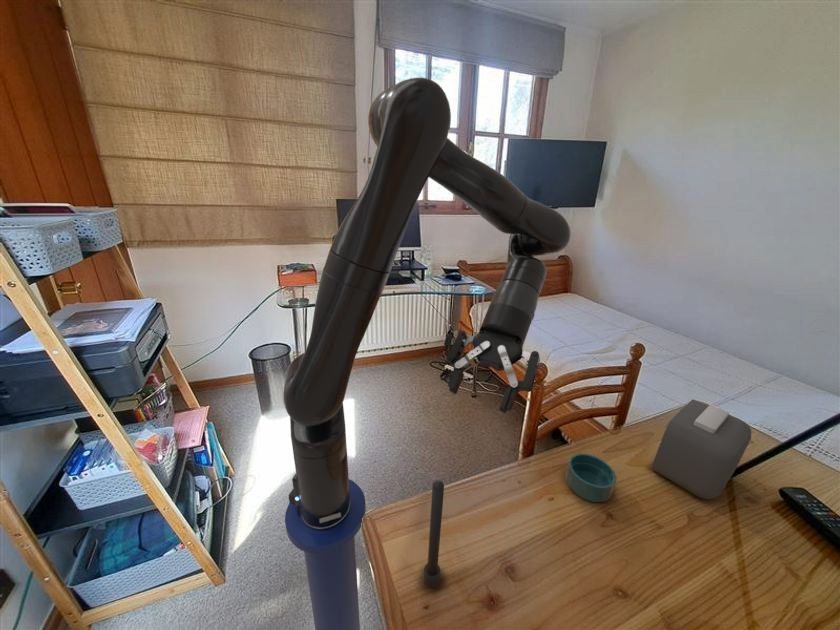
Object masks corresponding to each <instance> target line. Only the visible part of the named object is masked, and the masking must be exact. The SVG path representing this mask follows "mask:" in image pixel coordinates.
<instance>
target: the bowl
mask: <svg viewBox="0 0 840 630" xmlns="http://www.w3.org/2000/svg"><path fill="white" fill-rule="evenodd" d="M564 476H565V481H566V483H567V485H568V487H569V488H570V490H571V491H572V492H573V493H575V495H577V496H578V497H579V498H581V499H582V500H586V501H588V502H592V503H603V502H607V501H608V500H609V499H610V498H611V497H612V495H613V492H614V489H615V485H616V482H617V475H616V473H615V470H614V469H613V468H612V466H611V465H610V464H608V463H607V462H606V461H605V460H603V459H602V458H600V457H597V456H596V455H593V454H589V453H583V452H582V453H581V452H580V453H576V454H574V455H572V456H571V457H570V458H569V461H568V464H567V468H566V470H565V475H564Z"/></svg>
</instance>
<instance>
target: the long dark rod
mask: <svg viewBox="0 0 840 630" xmlns="http://www.w3.org/2000/svg"><path fill="white" fill-rule="evenodd" d="M431 487H432V489H431V503H430V520H429V521H430V522H429V536H428V537H429V538H428V552H427V553H428V554H427V563H426V564H425V565H424V567H423V583H424V585H425V586H426V588H429V589H435V588H437V587H438V586H439V584H440V582H441V567H440V565H439V556H440V555H439V554H440V542H441V531H442V519H443V517H442V516H443V505H444V493H445V484H444V482H443V481H442V480H440V479H437V480H434V481H433V482H432V486H431Z"/></svg>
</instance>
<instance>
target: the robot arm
mask: <svg viewBox="0 0 840 630" xmlns="http://www.w3.org/2000/svg"><path fill="white" fill-rule="evenodd" d="M368 111H369V112H368V116H367V117H368V119H367V120H368V121H367V122H368V123H367V124H368V129H369V130H368V131H369V134H370V136H371V139H372V141H373V143H374V145H375V146H376V147H377V148H376V151H375V154H374V158H373V162H372V165H371V169H370V172H369V173H368V176H367V180H366V182H365V184H364V187H363V188H362V190H361V192H360V194H359V196H358V197H357V199H356V200H355V202H354V204H353V205H352V206H351V208H350V210H349V211H348V212H347V214H346V216H345V217H344V219H343V220H342V222H341V224H340V226H339V228H338V229H337V231H336V233H335V235H334V237H333V240H332V242H331V245H330V247H329V252H328V254H327V257H326V260H325V263H324V265H323V269H322V273H321V275H320V279H319V284H318V288H317V293H316V297H315V298H316V299H315V304H314V311H313V317H312V324H311V332H310V336H309V339H308V343H307V346H306V348H305V351H304V352H303V353H301V354H299V355H298V356H296V357H295V358H294V359H293V360H292V361H291V362H290V363H289V365H288V366H287V368H286V371H285V377H284V387H283V395H282V396H283V404H284V409H285V410H286V412H287V415H288V416H289V423H290V425H289V427H290V440H291V447H292V454H293V461H294V467H295V474H294V475H293V476H292V478H291V482H292V490H291V491H290V492H289V493H288V502H289V503H290V504H292V505H296V510H297V516H300V517H302V520H303V522H304V524H305V525H306V526H307V527H309V528H311V529H313V530H328V529H331V528H333V527H335V526H337V525H339V524H340V523H341V522H342V521H343V520H344V519H345V518H346V516H347V515H348V513H349V510H350V506H351V502H350V494H349V479H350V478H349V463H348V448H347V432H346V431H347V429H346V419H345V410H344V408H345V407H344V401H345V397H346V393H347V389H348V386H349V381H350V378H351V374H352V370H353V366H354V363H355V359H356V356H357V353H358V351H359V348H360V346H361V344H362V341H363V339H364V337H365V334H366V332H367V330H368V327H369V325H370V323H371V321H372V318H373V315H374V313H375V310H376V308H377V305H378V303H379V301H380V299H381V296H382V294H383V292H384V290H385V287H386V285H387V282H388V279H389V277H390V274H391V271H392V268H393V265H394V262H395V259H396V256H397V254H398V251H399V249H400V246H401V243H402V241H403V238H404V236H405V233H406V231H407V229H408V226H409V222H410V220H411V216H412V214H413V211H414V209H415V206H416V205H417V202H418V200H419V198H420V195H421V193H422V191H423V189H424V187H425V185H426V184H427V182H428V179H431V180H432V181H434V182H436V183H437V184H438V185H440V186H441V187H443V188H444V189H446V190H447V191H448V192H450V193H451V194H452V195H453V196H455V197H456V198H458V199H459V200H460V201H461V202H463V203H464V204H465V205H466V206H467V207H469V208H470V209H472V210H473V211H474V212H475V213H476V214H477V215H479V216H480V217H481V218H483V219H484V220H485V221H487V222H488V223H489V224H490V225H491V226H492V227H494V228H496V229H497V230H498V231H499V232H501V233H503V234H507V235H509V238H508V249H507V259H506V267H505V270H504V271H503V275H502V277H501V279H500V282H499V284H498V286H497V288H496V290H495V291H494V293H493V295H492V298H491V300H490V303H489V305H488V308H487V310H486V313H485V314H484V317H483V320H482V322H481V326H480V328H479V331H478V333H477V334H476V335H474V336H473V335H471V334H467V333H466V331H465V330H460V331H459V332H458V334H457V336H456V337H455V340H454V342H453V344H452V346H451V348H450V350H449V352H448V354H447V356H446V361H447V362H448V364H450V366H452V367H453V370H452V372H451V375H450V377H449V380H448V382H447V387H448V391H449V392H450V393H451V394H454V395H457V394H458V391H459V389H460V386H461V383H462V381H463V379H464V376H465V374H464V373H465V372H466V371H468V370H470V369H471V368H475V367H477V366H478V365H481V366H483V367H485V368H491V369H493V370H495V371H497V372H501V371H504V372H505V374H506V377H507V380H508V383H509V385H508V386H506V389H505V392H504V394H503V396H502V400H501V403H500V405H499V412H500V413H503V414H504V415H505V414H507V412H511V410H513V407H514V404H515V402H516V399H517V395H518V394H519V392H527V393H531V392H532V391H533V389H534V385H535V381H536V377H537V374H538V370H539V365H540V362H541V357H540V353H539V351H537V350H533V351H527V350H523V348H524V345H525V341H526V338H527V335H528V333H529V330H530V327H531V325H532V322H533V320H534V317H535V315H536V314H535V313H536V310H537V307H538V301H539V297H540V294H541V292H542V290H543V289H542V288H543V286H544V284H545V280H546V277H547V266H546V265H545V263H544V262H543V261H541V260H540V259H539V258H536V257H541V256H546V255H553V254H557V253H560V252H562V251H563V250H564V249H565V248H566V247H567V246H568V245H569V243H570V241H571V235H572V231H571V227H570V225H569V222H568V220H567V219H566V218H565V217H564V216H563V214H561V213H560V212H558V211H557V210H555V209H553V208H552V207H549V206H547V205H545V204H543V203H541V202H539V201H537V200H534V199H532V198H530V197H528V196H527V195H526V194H525V193H524V192H522V190H521V189H520V188H518V187H517V185H515V184H514V182H512V180H510V179H509V178H507V177H506V176H505V175H504V174H502V173H501V172H499V171H497V170H496V169H494V168H493V167H492V166H489V165H488V164H486V163H485V162H482V161H481V160H479V159H477V158H476V157H474V156H472V155H470V153H467V152H466V151H465V150H463V149H462V148H461V147H459V146H458V145H457V144H456V143H454V142H453V141H452V140H451V139H450V138H448V137H449V134H450V129H451V124H452V113H451V105H450V101H449V99H448V96H447V93H446V92H445V90H444V88H443V87H442V86H440V85H439V83H438V82H436V81H434V80H433V79H430V78H427V77H412V78H407V79H404V80H402V81H398V83H396V84H394V85H392V86H390V87H388V88H386V89H384V90H383V91H381V92H380V93H379V94H378V95H377V96H376V97H375V99H374V100H373V101H372V103H371V105H370V108H369V110H368ZM471 344H472V347H473V349H472V350H470V351H469V352H467V353H466V354H465V355H464V356H463V357H462V355H463V353H464V350H465V348H468V347H469V346H470V345H471ZM461 357H462V358H461ZM522 359H523V360H524V364H525V366H526V370H525V372H524V373H525V374H524V377H523V380H518V378H517V375H516V373H515V370H514V367H513V365H514V364H515V363H517V362H519V361H520V360H522Z"/></svg>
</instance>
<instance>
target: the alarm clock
mask: <svg viewBox="0 0 840 630" xmlns="http://www.w3.org/2000/svg"><path fill="white" fill-rule="evenodd" d="M751 440H752V429H751V427H750V426H749V424H748V423H747V422H745V421H744V420H742V419H740V418H738V417H736V416H733V415H731V414H730V412H729V411H727V410H724V409H722V408H719V407H717V406H715V405H712V404H709V405H707V404H705V403H703V402H701V401H698V400H696V399H691V400H690V401H689V402H688V403H687V404H686V405H685V406H684V407H683V408H682V409H680V410H679V411H678V412H677V413H676V414H675V415H674V416H673V417H672V418H671V420H669V423H668V424H667V426H666V428H665V431H664V433H663V435H662V437H661V441H660V443H659V446H658V448H657V451H656V454H655V456H654V458H653V461H652V463H651V464H652V465H651V470H652V471H654V472H656V473H658V474H659V475H661V476H663V477H664V478H665V479H667V480H670V481H671V482H672V483H674V484H676V485H678V486H679V487H680V488H682V489H684V490H685V491H688V492H689V493H691V494H693V495H694V496H696V497H698V498H701V499H703V500H713V499H715V498H717V497H718V496H719V495H720V494H721V493H722V492H723V490H724V488H725V487H726V485H727V484H728V483H729V481H730V480H731V477H732V476H733V475H734V473H735V471H736V470H737V468H738V466H739V464H740V462H741V459H742V458H743V456H744V454H745V452H746V450H747V448H748V446H749V444H750V442H751Z"/></svg>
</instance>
